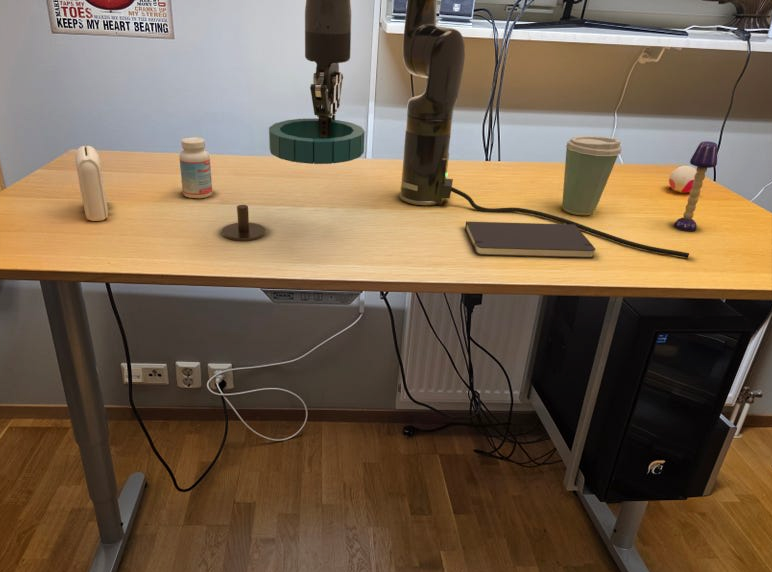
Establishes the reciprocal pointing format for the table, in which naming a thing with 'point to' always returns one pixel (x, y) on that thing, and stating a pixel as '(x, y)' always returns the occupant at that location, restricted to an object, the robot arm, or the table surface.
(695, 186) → the toy lamp
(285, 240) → the table surface
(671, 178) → the stress ball
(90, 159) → the photo printer
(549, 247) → the notebook
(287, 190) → the table surface
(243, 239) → the peg stand
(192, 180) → the pill bottle
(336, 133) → the ring
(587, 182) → the disposable coffee cup
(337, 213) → the table surface
